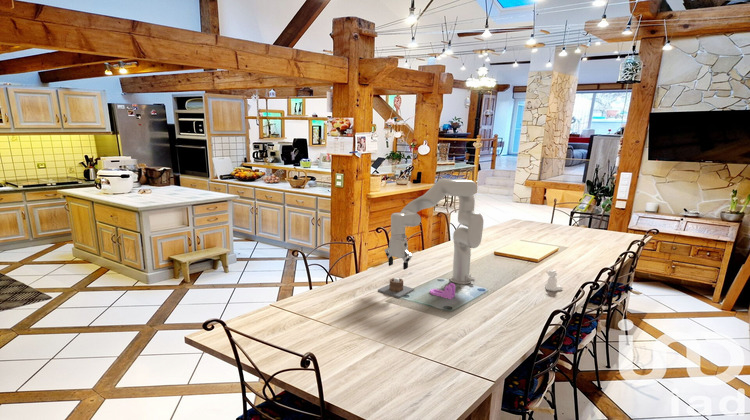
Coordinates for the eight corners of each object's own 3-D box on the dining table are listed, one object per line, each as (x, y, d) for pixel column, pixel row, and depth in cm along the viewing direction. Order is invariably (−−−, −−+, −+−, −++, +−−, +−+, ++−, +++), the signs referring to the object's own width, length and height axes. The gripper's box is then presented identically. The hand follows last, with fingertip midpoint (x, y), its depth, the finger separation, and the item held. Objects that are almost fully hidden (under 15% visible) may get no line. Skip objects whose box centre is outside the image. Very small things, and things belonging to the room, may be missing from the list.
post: (414, 290, 222) (414, 278, 220) (399, 298, 211) (399, 285, 210) (393, 284, 230) (393, 272, 229) (377, 291, 220) (378, 278, 218)
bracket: (454, 296, 216) (455, 283, 214) (450, 299, 211) (451, 286, 210) (432, 290, 223) (433, 278, 222) (428, 293, 218) (428, 281, 217)
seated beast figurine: (563, 289, 228) (565, 269, 225) (557, 294, 221) (560, 273, 219) (546, 285, 234) (548, 265, 232) (540, 289, 228) (542, 268, 225)
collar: (405, 288, 221) (405, 280, 220) (397, 292, 216) (398, 283, 215) (394, 285, 225) (395, 277, 224) (387, 289, 220) (387, 280, 219)
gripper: (415, 237, 212) (415, 268, 216) (389, 232, 223) (389, 262, 227) (407, 240, 207) (407, 272, 210) (380, 235, 217) (381, 265, 221)
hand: (398, 267), depth 218 cm, fingers open, 9 cm apart
